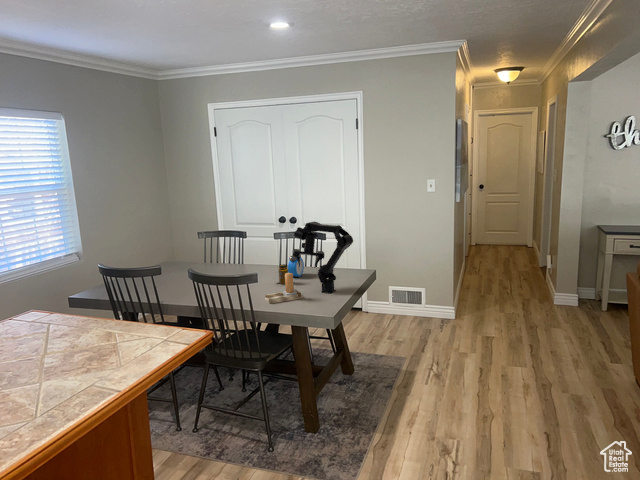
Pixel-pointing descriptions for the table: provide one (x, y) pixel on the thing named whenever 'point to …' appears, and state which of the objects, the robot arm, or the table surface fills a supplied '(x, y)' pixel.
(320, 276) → the robot arm
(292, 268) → the alarm clock
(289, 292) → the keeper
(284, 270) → the condiment
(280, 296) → the track
